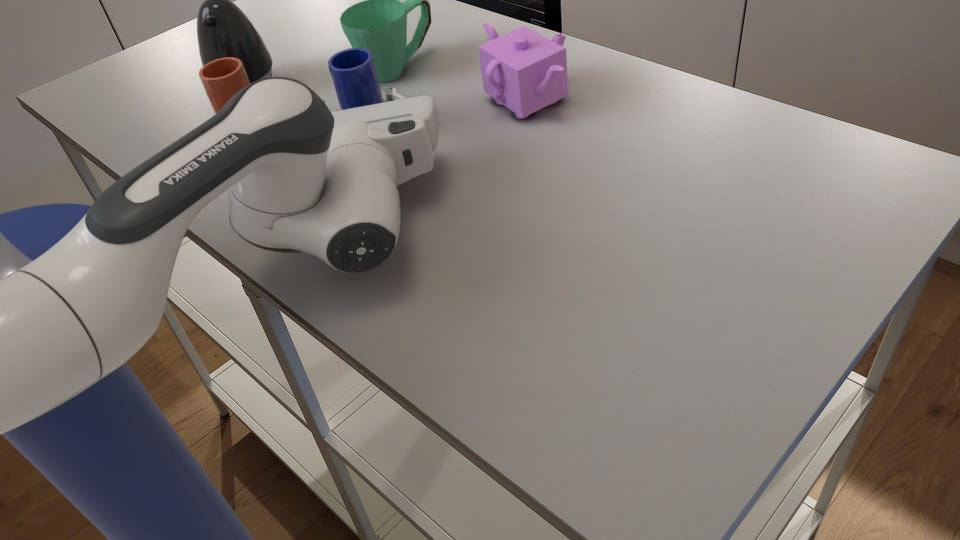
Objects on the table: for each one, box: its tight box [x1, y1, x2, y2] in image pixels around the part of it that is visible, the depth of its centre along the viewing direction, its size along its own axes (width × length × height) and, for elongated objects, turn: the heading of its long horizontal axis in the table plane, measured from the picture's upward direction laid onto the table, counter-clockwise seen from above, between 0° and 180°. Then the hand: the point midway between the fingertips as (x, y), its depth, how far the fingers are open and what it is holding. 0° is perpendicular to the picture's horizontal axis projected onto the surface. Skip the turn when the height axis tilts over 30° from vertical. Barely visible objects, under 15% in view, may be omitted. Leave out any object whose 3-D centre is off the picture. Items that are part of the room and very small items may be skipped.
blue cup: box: [327, 47, 384, 110], centre depth 102 cm, size 6×6×11 cm
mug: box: [339, 0, 432, 83], centre depth 115 cm, size 15×10×10 cm
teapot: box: [477, 22, 569, 119], centre depth 104 cm, size 18×13×10 cm
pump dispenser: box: [196, 0, 273, 84], centre depth 114 cm, size 10×10×15 cm
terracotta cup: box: [198, 57, 250, 115], centre depth 105 cm, size 6×6×11 cm
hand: (356, 99), depth 98 cm, fingers open, 8 cm apart
